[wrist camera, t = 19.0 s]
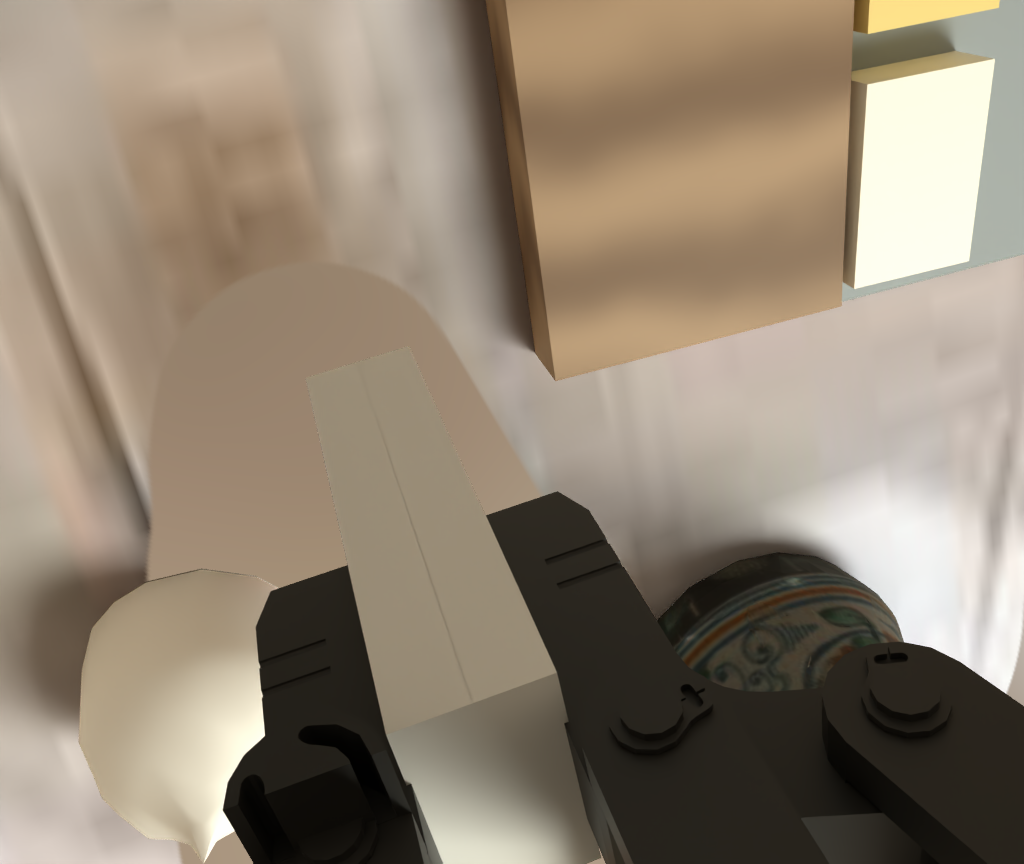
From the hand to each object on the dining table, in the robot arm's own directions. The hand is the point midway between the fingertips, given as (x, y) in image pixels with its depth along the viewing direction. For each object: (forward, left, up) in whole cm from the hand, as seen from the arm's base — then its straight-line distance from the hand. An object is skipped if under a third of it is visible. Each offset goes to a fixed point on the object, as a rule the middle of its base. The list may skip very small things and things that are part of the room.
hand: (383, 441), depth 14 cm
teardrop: (+25, -10, -27) cm, 38 cm away
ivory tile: (+8, +26, -26) cm, 38 cm away
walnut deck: (+2, +16, -27) cm, 31 cm away
